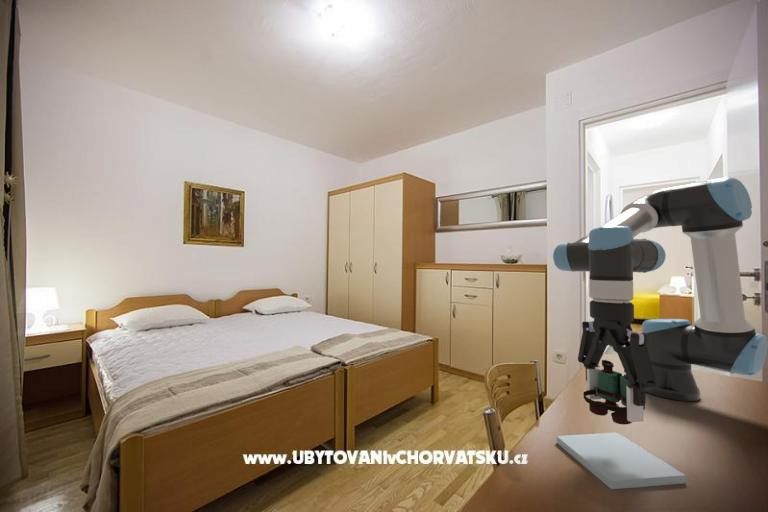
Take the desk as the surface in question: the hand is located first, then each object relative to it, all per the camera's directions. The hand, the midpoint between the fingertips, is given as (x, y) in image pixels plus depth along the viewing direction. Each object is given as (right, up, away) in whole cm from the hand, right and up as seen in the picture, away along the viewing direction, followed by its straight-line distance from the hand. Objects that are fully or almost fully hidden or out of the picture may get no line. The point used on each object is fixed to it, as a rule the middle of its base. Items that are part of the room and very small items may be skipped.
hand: (613, 408), depth 65 cm
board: (0, -11, 0) cm, 11 cm away
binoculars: (0, -2, 0) cm, 2 cm away
